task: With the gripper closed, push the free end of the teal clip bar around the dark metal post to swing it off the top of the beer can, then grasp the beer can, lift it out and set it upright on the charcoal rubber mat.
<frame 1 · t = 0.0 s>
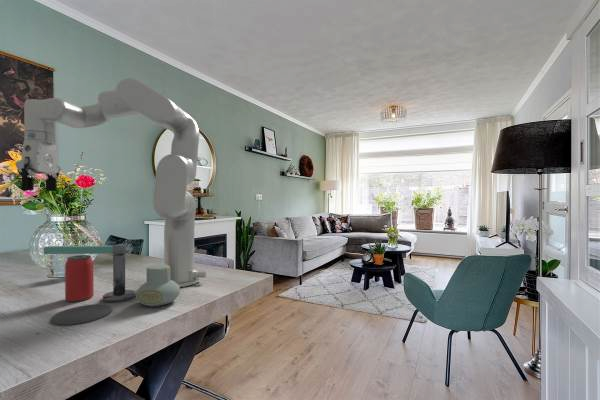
hand: (40, 190, 101), 31 cm above the table, tool pointing down, fingers open, 9 cm apart
air freshener: (158, 303, 84), on the table
white cup: (76, 277, 111), on the table
clip post: (119, 297, 88), on the table
beer can: (79, 299, 87), on the table
rubber mat: (82, 315, 75), on the table
clip bar: (86, 249, 87), point 14 cm above the table, hinge at 0.0°
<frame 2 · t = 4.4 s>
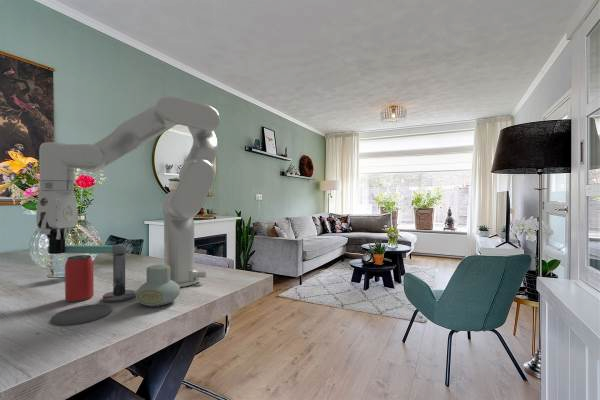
hand: (57, 253, 85), 13 cm above the table, tool pointing down, fingers closed
clip bar: (87, 249, 88), point 14 cm above the table, hinge at 4.2°, touching gripper
everything else where it was.
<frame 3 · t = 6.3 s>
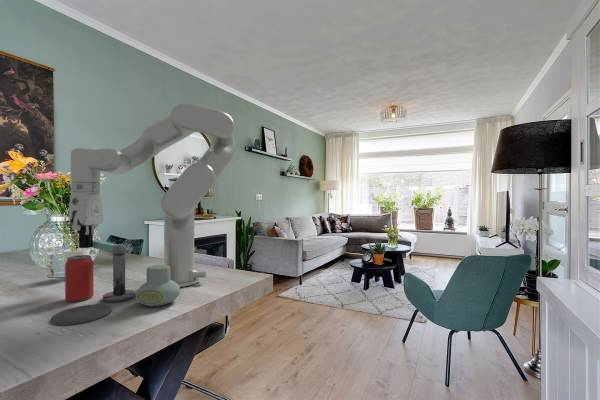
hand: (85, 247, 95), 13 cm above the table, tool pointing down, fingers closed
clip bar: (105, 246, 93), point 14 cm above the table, hinge at 40.1°, touching gripper
everything else where it was.
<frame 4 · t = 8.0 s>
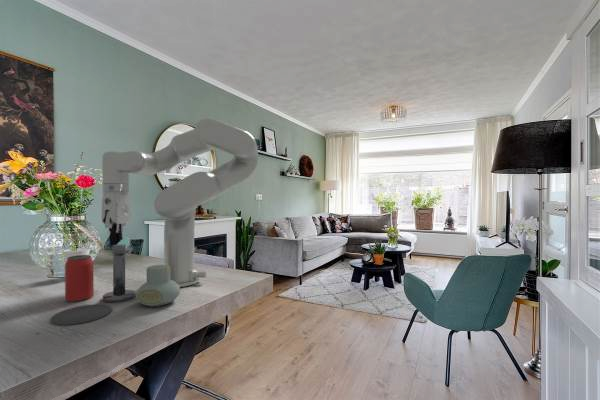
hand: (116, 244, 102), 13 cm above the table, tool pointing down, fingers closed
clip bar: (123, 244, 96), point 14 cm above the table, hinge at 69.2°, touching gripper
everything else where it was.
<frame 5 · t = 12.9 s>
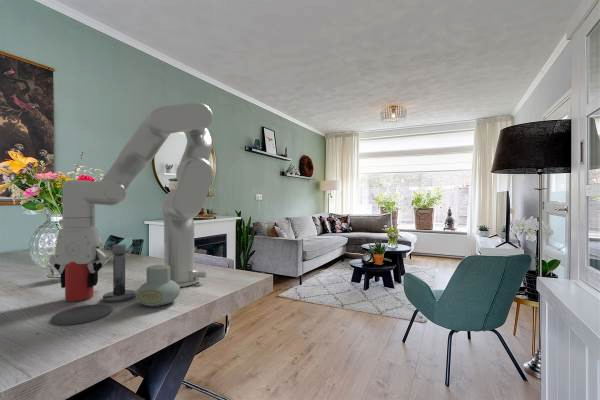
hand: (79, 285, 87), 4 cm above the table, tool pointing down, fingers closed on beer can, 6 cm apart
beer can: (79, 299, 87), on the table, touching gripper
clip bar: (124, 244, 96), point 14 cm above the table, hinge at 71.2°
everything else where it was.
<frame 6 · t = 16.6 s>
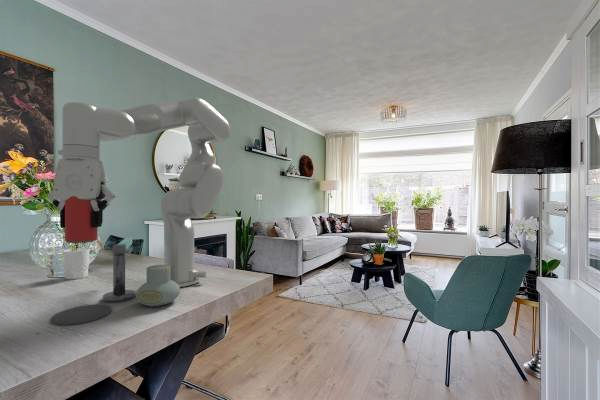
hand: (81, 226, 76), 22 cm above the table, tool pointing down, fingers closed on beer can, 6 cm apart
beer can: (81, 242, 76), point 18 cm above the table, touching gripper
everything else where it was.
when the fingers open (6 cm above the table, at t = 20.3 s): beer can drops 1 cm, resting on rubber mat.
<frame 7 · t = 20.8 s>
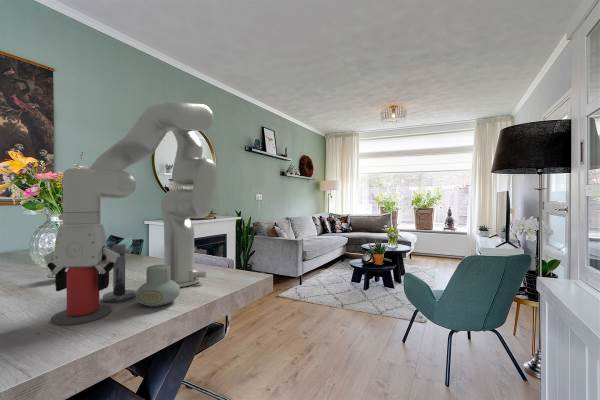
hand: (82, 289, 75), 6 cm above the table, tool pointing down, fingers open, 9 cm apart
beer can: (83, 313, 75), resting on rubber mat
everything else where it was.
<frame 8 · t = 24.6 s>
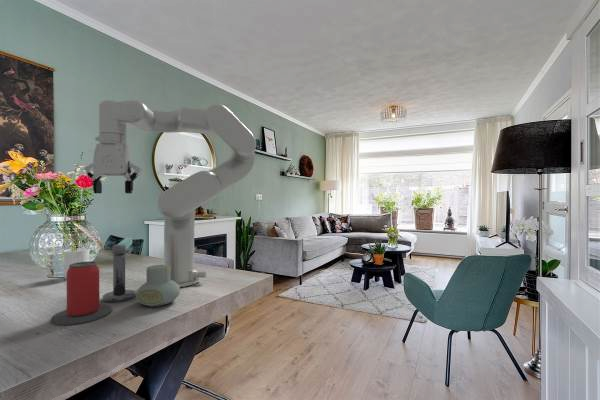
hand: (113, 193, 99), 30 cm above the table, tool pointing down, fingers open, 9 cm apart
nothing on the table moved.
at the end: clip bar at +71° (first picture: +0°); beer can 0.1 cm off-centre on the rubber mat, point 0.4 cm above the rubber mat's base; beer can tilted 0° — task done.
